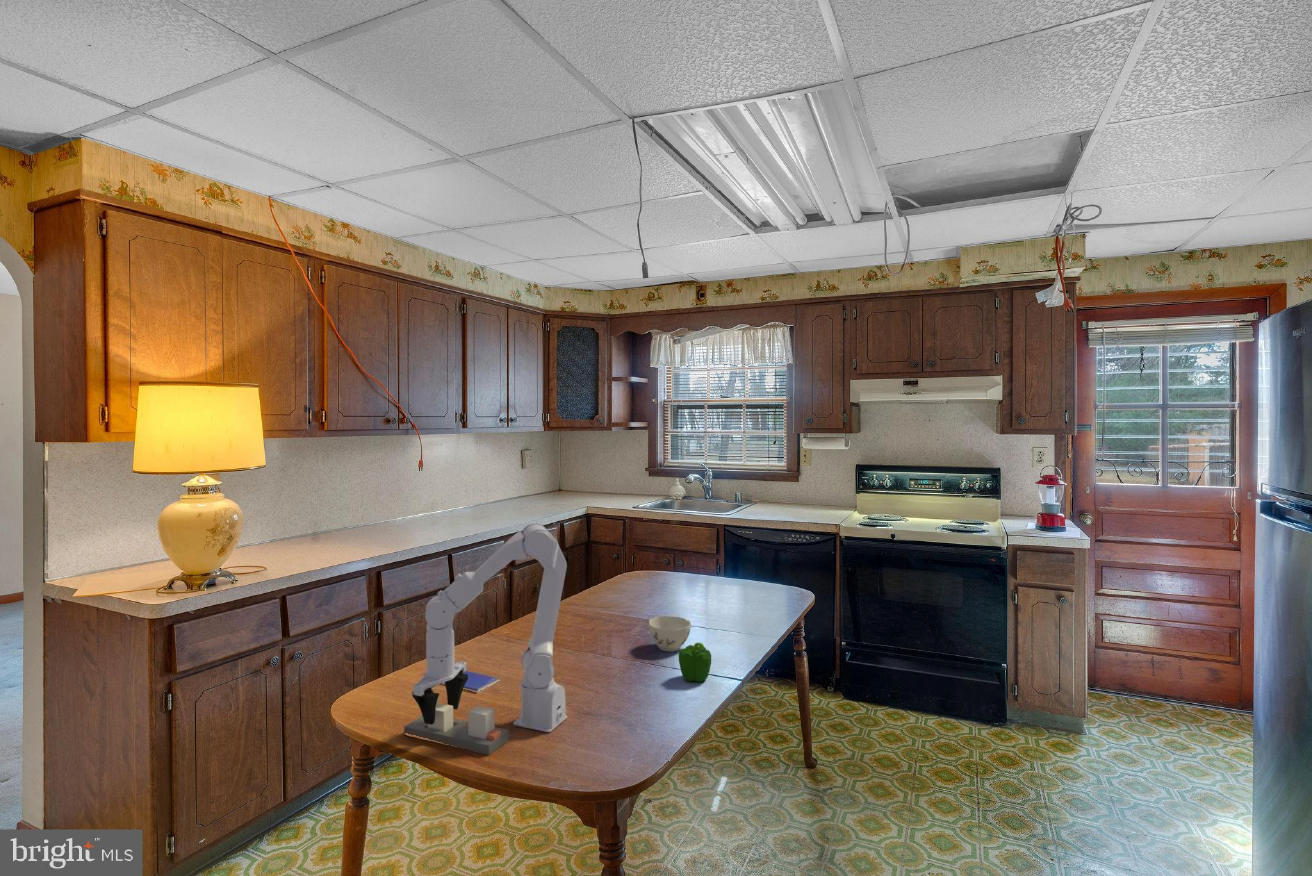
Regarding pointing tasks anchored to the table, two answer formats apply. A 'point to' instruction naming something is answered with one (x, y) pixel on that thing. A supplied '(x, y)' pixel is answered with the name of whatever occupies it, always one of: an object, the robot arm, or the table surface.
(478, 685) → the blue book
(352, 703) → the table surface
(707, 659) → the bell pepper
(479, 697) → the table surface
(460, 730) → the slotted gray plate
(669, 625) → the teacup
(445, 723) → the plug
